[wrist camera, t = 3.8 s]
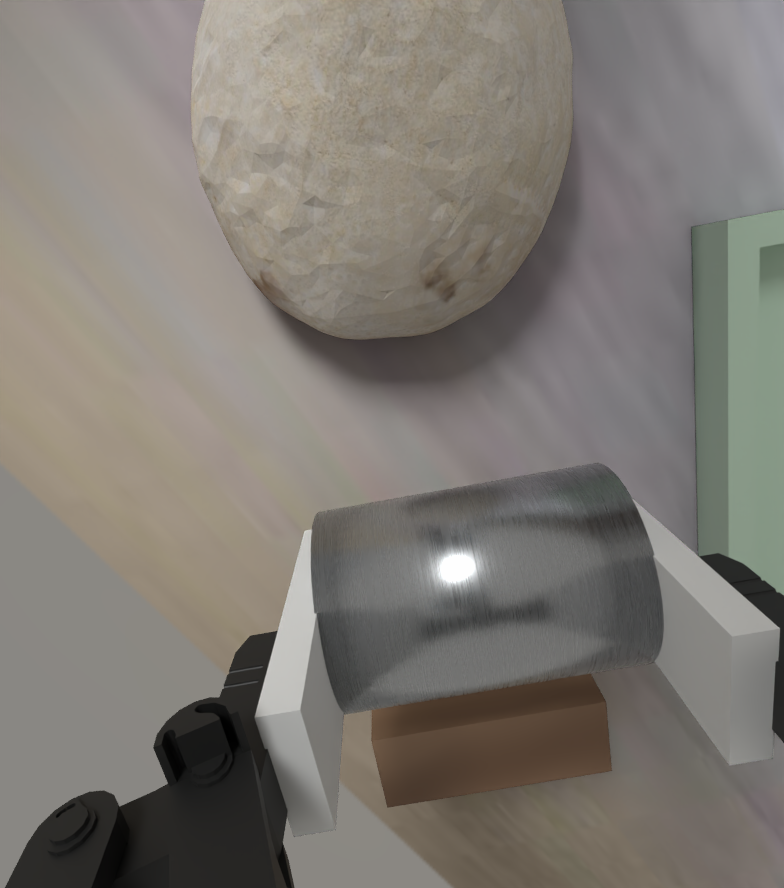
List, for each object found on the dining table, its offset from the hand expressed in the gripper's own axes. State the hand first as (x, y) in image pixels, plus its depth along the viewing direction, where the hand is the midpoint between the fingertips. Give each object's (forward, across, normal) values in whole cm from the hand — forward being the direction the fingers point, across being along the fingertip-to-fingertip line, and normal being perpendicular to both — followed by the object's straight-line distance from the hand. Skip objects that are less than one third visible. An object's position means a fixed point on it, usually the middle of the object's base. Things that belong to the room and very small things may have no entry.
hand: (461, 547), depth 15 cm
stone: (+7, 0, +12) cm, 14 cm away
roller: (0, 0, 0) cm, 0 cm away
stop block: (+6, 0, -9) cm, 11 cm away
